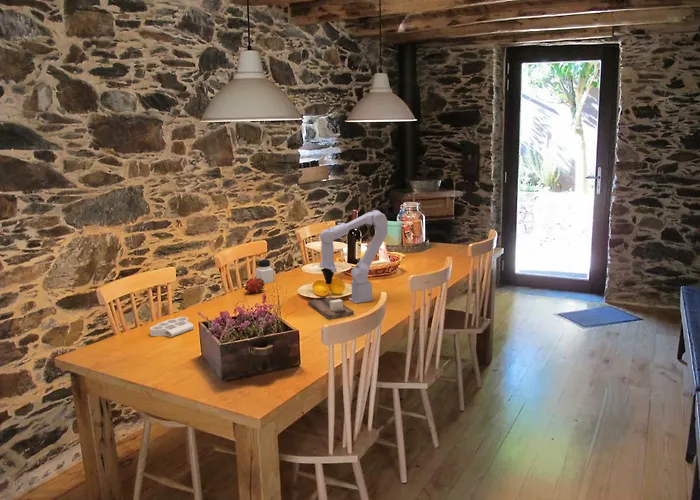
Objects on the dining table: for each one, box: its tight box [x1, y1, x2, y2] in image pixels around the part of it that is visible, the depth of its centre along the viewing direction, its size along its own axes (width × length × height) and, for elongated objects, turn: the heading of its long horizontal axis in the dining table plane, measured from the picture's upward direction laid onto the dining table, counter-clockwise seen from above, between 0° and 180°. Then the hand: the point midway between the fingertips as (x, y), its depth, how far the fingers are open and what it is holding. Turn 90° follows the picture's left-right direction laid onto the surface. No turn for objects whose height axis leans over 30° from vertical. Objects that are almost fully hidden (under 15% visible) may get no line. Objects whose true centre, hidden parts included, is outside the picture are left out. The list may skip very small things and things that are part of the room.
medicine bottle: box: [255, 258, 275, 285], centre depth 324 cm, size 7×7×12 cm
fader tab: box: [330, 298, 344, 311], centre depth 269 cm, size 5×3×4 cm, turn 116°
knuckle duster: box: [149, 316, 195, 338], centre depth 256 cm, size 3×18×15 cm
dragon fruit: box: [244, 276, 266, 295], centre depth 305 cm, size 8×8×12 cm
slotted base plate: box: [307, 295, 355, 321], centre depth 276 cm, size 12×24×3 cm, turn 26°
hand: (328, 283), depth 284 cm, fingers closed
